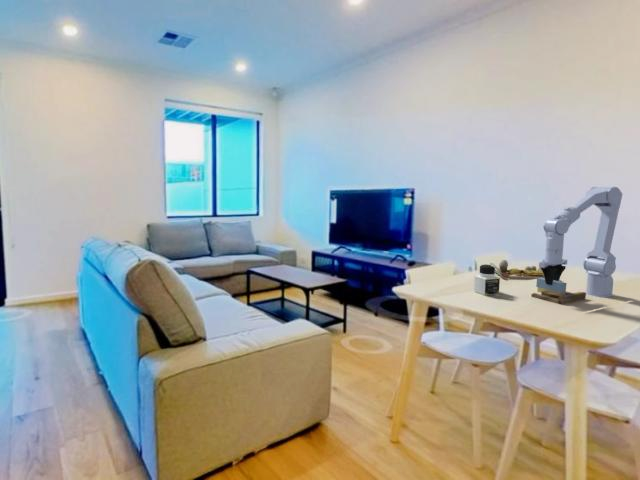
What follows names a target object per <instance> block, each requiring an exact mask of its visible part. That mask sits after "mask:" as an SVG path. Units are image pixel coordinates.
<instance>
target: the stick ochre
mask: <svg viewBox="0 0 640 480" xmlns="http://www.w3.org/2000/svg"><path fill="white" fill-rule="evenodd" d="M543 291H548V292H553V293H557V294H561V295H566V292H567V291H566V292H563V293H559V292H555V291H551V290H547V289H544V288H540V287H537V291H536V292H540V293H541V292H543Z"/></svg>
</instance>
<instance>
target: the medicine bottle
mask: <svg viewBox="0 0 640 480" xmlns="http://www.w3.org/2000/svg"><path fill="white" fill-rule="evenodd" d="M495 266H496V265H495ZM495 266H493V265H491V264H481V265H480V266H479V274H476V275H474V284H473V285H474V286H473V291H474V293H477V294H480V295H482V296H485V297H486V296H494V295H495V296H497V295H498V294H499V293H500V280H501V279H500V277H498V276H496V272H495V269H496V268H495Z"/></svg>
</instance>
